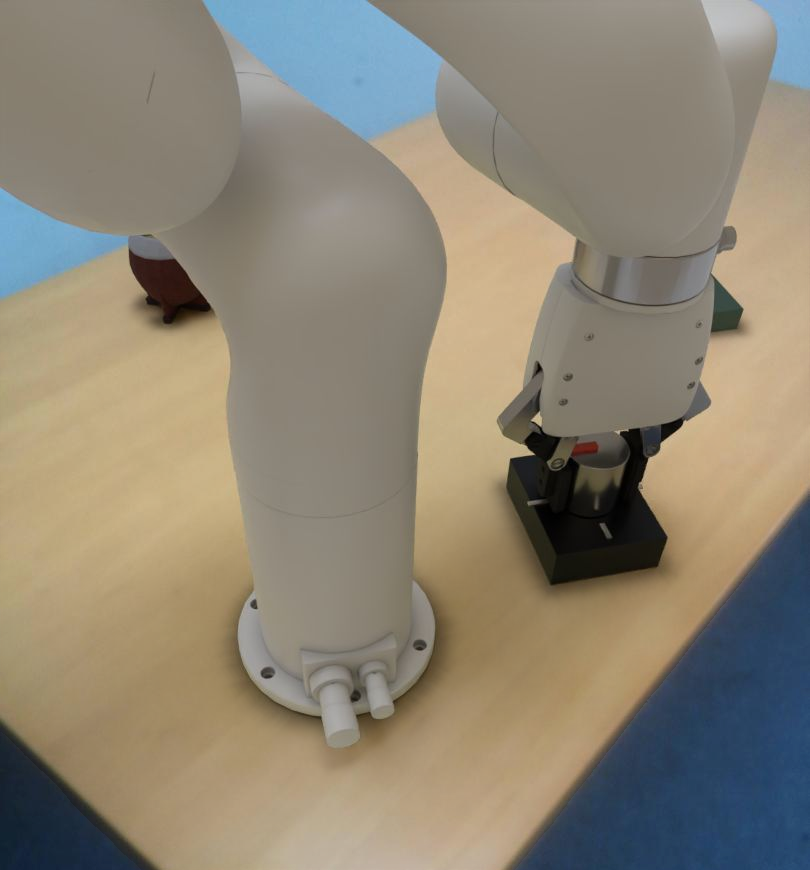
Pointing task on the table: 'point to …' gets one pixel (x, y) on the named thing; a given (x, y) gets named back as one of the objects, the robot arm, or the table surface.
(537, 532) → the panel
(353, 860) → the table surface
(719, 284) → the housing
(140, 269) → the mate gourd
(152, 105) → the robot arm
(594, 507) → the knob
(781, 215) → the table surface
